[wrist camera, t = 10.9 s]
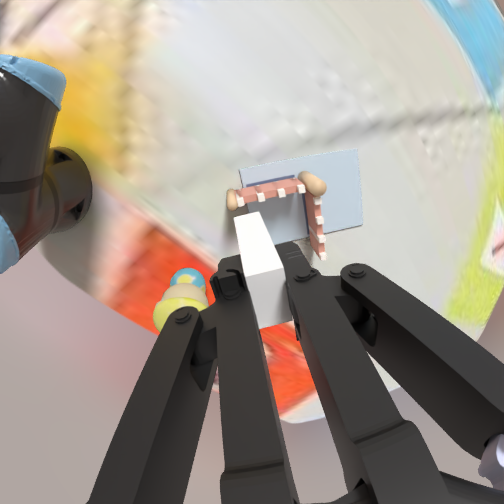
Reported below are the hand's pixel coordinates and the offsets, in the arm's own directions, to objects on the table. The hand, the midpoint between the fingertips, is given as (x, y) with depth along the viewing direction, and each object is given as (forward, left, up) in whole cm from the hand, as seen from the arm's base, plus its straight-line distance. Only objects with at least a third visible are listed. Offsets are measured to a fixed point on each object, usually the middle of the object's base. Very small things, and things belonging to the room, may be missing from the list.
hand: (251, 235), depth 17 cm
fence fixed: (+5, -4, -28) cm, 29 cm away
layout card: (+11, -8, -28) cm, 31 cm away
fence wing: (+11, -11, -28) cm, 32 cm away
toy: (-12, -17, -29) cm, 36 cm away
